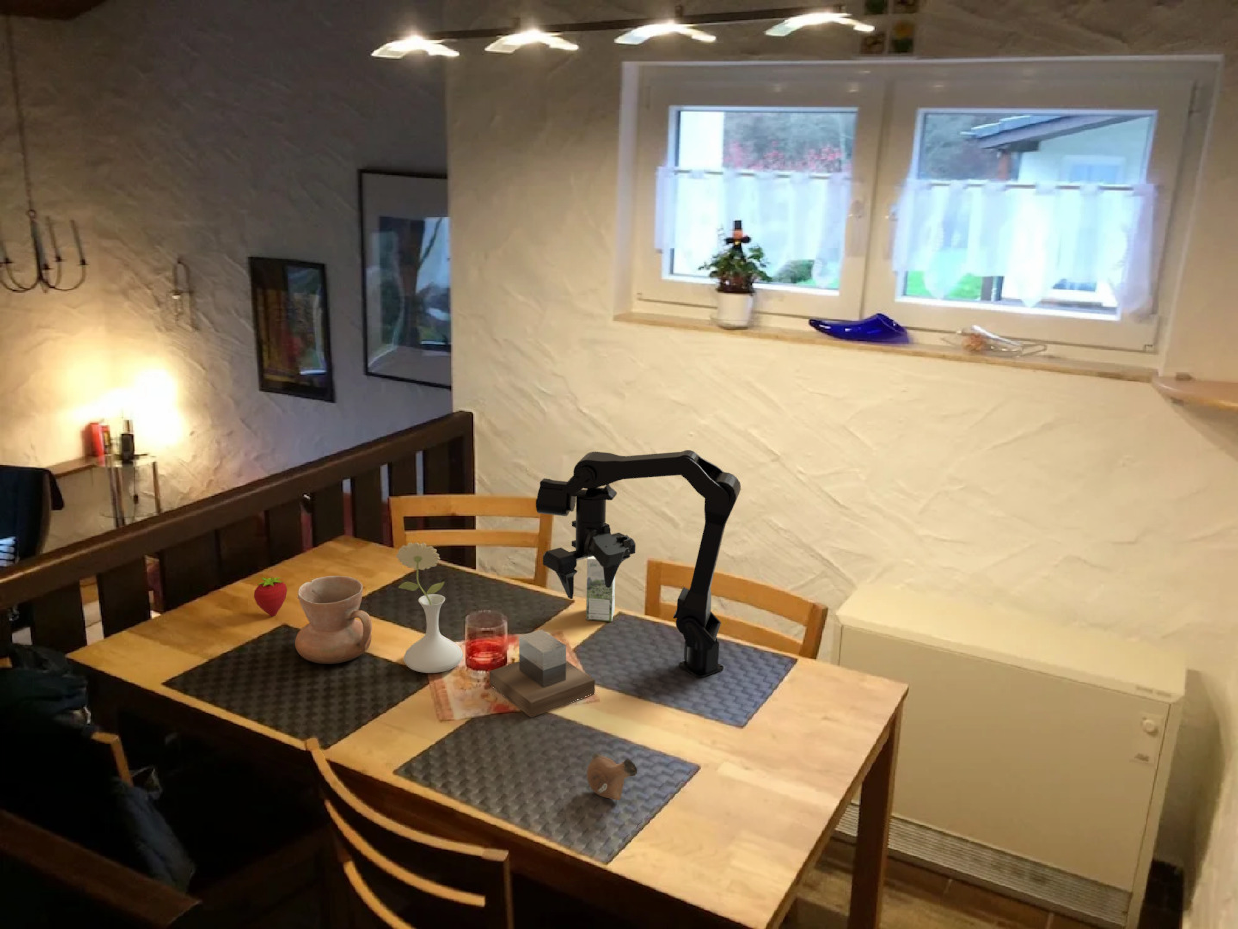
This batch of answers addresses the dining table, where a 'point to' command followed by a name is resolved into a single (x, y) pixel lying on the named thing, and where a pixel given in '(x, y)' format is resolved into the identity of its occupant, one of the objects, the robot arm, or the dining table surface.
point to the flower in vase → (428, 617)
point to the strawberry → (270, 595)
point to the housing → (542, 658)
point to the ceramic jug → (333, 620)
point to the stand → (540, 689)
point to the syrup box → (598, 593)
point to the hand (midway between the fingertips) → (589, 592)
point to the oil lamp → (609, 776)
